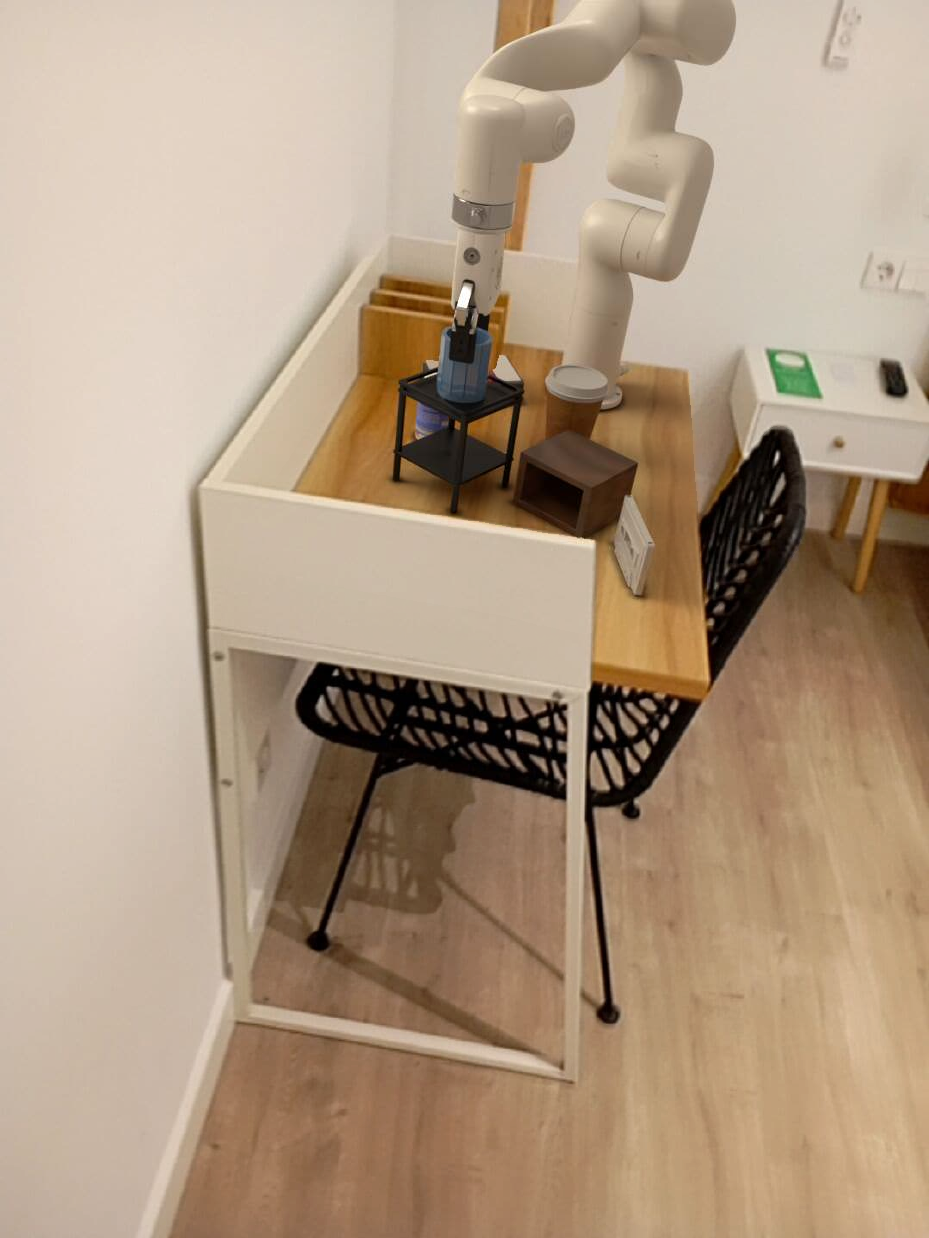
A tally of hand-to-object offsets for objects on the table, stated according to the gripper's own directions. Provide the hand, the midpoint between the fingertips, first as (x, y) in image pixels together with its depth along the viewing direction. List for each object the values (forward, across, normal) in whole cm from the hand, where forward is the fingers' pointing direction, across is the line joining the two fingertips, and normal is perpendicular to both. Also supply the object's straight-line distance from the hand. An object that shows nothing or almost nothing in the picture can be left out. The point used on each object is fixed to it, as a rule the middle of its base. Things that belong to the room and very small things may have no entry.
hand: (468, 346), depth 132 cm
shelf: (+20, -1, -17) cm, 27 cm away
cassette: (+20, -14, -26) cm, 36 cm away
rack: (+20, -1, 0) cm, 20 cm away
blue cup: (+6, -1, 0) cm, 6 cm away
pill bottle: (+21, +12, +6) cm, 24 cm away
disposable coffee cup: (+21, +16, -14) cm, 30 cm away
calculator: (+21, +31, +4) cm, 38 cm away
